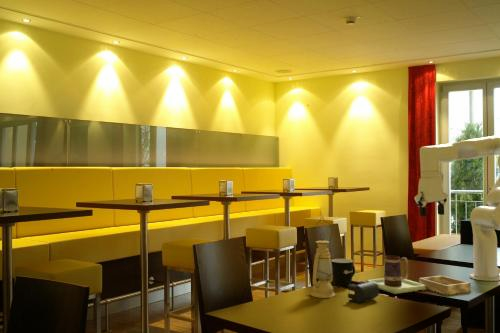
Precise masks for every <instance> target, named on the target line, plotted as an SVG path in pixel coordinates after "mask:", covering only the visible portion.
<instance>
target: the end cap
mask: <svg viewBox="0 0 500 333" xmlns="http://www.w3.org/2000/svg"><path fill="white" fill-rule="evenodd" d="M347 290H348V291H351V292H354V294H352V293H350V292H349V293H347V298H348V302H349V303H352V304H356V303H357V304H356V305H359V304H362V303H366V302H369V301H372V300H374V299H376V298H377V297H378V296H379V294H380V289H379V287H378V285H377V284H376V283H375V282H373V281H371V282H366V281H358V282H357V284H356V283H351V284H350V285H348V286H347Z"/></svg>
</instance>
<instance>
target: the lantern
mask: <svg viewBox="0 0 500 333" xmlns="http://www.w3.org/2000/svg"><path fill="white" fill-rule="evenodd" d="M321 220H323V221H324V222H325V223H328V224H329V225H330V228H331V229H330V231H331V232H330V239H329V241H328V240H325V239H324V238H322V237H321V236H322V235H323V236H325V235H324V233H323V232H321V234H319V236H320V237H319V238H320V240H317V241H316V239H315V236H313V240H314V241H313V242H315V244H317V247H318V248H316V249H314V250H313V254H314V256H313V260H314V261H313V270H312V282H311V285H312V292H311V293H310V295H311V296H312V297H315V298H318V299H332V298H333V297H335V296H336V293H335V292H334V287H333V286H332V282H333V274H332V273H333V269H332V264H331V261H332V259H331V256H332V255H331V254H332V249H331V246H329V248H328V244H330V242H331V240H332V235H333V232H332V230H333V229H332V228H333V227H332V225H331V223H329V222H328V221H326V220H325V219H324V217H323V216H322V217H320V220H319V221H318V222H317V223H316V224H315V225H314V228H313V229H314V230H313V234H315V232H316V229H315V228H316V226H317V225H319V223H320V222H321ZM329 250H330V251H329ZM317 279H318V281H317Z"/></svg>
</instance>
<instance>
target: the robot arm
mask: <svg viewBox="0 0 500 333" xmlns="http://www.w3.org/2000/svg"><path fill="white" fill-rule="evenodd" d="M497 155H498V157H497V165H498V170H499V171H500V135H492V136H490V135H489V136H484V137H479V138H472V139H466V140H461V141H457V142H450V143H445V144H438V145H437V144H436V145H427V146H425V145H424V146H421V147H420V148H419V162H420V164H419V165H420V178H419V181H418V188H417V189H418V190H417V194H416V195H415V196H414V200H415V203H416V205H417V207H418V208H419V216H420V217H423V218H425V217H427V207H426V205H427V204H428V203H434V202H435V203H437V206H436V207H437V214H438V215H442V216H444V215H445V205H446V202H447V200H448V197H449V194H448V193H446V192H444V190H443V189H444V188H443V182H442V178H441V177H440V176H441V172H440V163H443V164H446V163H452V162H455V161H456V160H473V159H481V158H486V157H491V156H497ZM485 202H486V204H487V205H488V206H486V205H479V206H476V207H474V208H473V209H472V210H471V212H470V216H469V217H470V224H471V228H472V235H473V236H472V242H473V243H472V246H473V249H472V250H473V251H472V253H473V256H472V257H473V259H472V261H473V273H470V274H469V277H470V279H473V280H477V281H483V282H484V281H486V282H497V281H500V268H499V267H498V237H497V233H496V231H495V230H497V231H500V175H499V176H498V179H497V180H496V182H495V183H494V185H493V186H492V188H491V189H490V191H489V192H488V194H487V195H486V197H485Z"/></svg>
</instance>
